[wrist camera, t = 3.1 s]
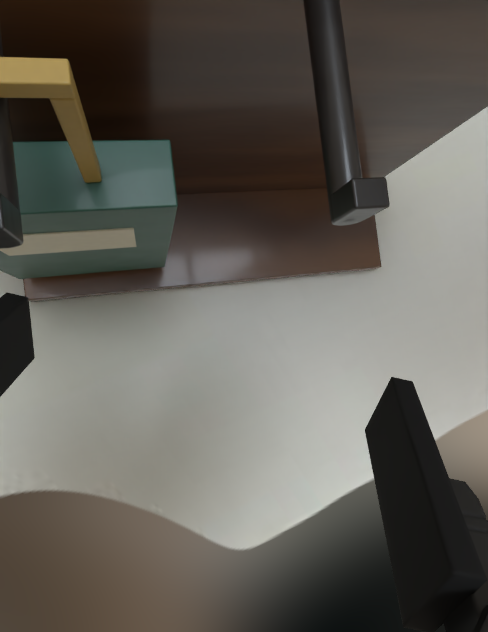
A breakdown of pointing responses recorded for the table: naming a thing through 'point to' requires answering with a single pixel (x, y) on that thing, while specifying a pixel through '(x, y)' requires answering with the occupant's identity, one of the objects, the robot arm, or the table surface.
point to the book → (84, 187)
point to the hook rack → (251, 120)
